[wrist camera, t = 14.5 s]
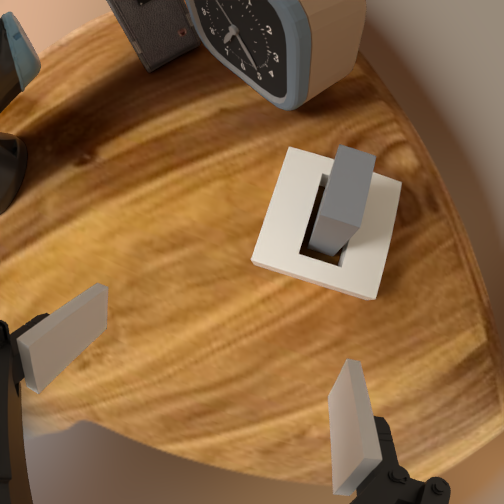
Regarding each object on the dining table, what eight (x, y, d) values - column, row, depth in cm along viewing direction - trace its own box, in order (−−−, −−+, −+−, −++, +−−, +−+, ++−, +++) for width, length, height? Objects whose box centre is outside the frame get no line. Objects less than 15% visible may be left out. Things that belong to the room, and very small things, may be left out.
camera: (177, 23, 48) (139, -57, 30) (206, 49, 41) (159, -60, 23) (127, 50, 48) (80, -27, 30) (142, 83, 41) (79, -19, 23)
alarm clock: (201, 53, 41) (162, -60, 20) (249, 25, 42) (231, -85, 21) (294, 132, 37) (298, -12, 16) (346, 96, 38) (376, -36, 17)
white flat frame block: (254, 264, 35) (250, 260, 32) (288, 160, 37) (289, 146, 33) (366, 300, 33) (375, 299, 30) (392, 193, 35) (401, 182, 32)
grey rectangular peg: (307, 248, 35) (320, 215, 22) (321, 198, 36) (339, 144, 23) (332, 256, 34) (360, 227, 22) (346, 206, 35) (376, 156, 23)
